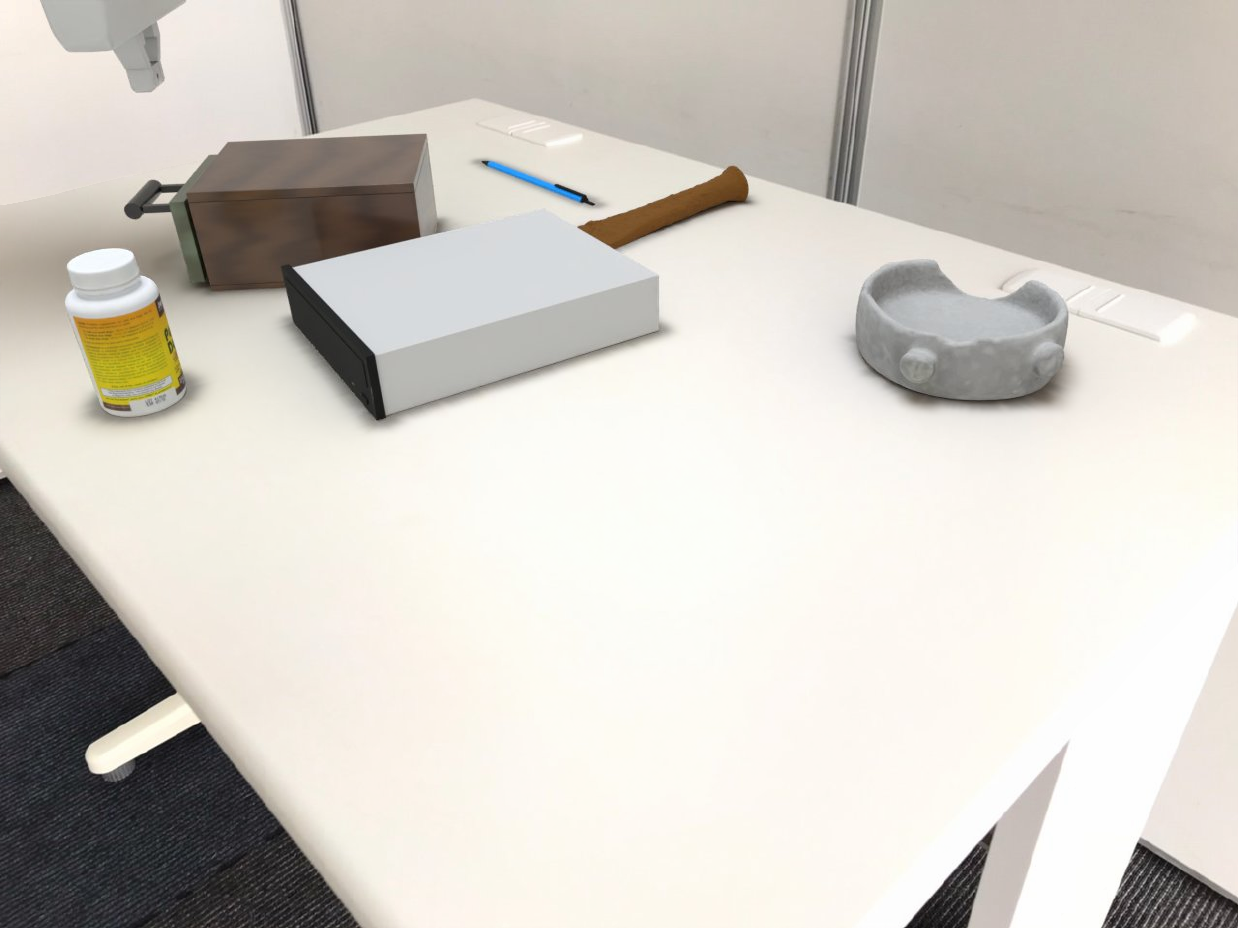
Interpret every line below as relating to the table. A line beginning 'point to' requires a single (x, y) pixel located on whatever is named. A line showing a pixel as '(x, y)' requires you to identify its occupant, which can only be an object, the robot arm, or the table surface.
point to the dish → (959, 334)
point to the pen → (541, 183)
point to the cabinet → (308, 203)
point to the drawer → (174, 217)
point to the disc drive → (468, 307)
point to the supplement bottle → (123, 334)
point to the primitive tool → (669, 209)
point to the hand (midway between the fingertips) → (149, 88)
